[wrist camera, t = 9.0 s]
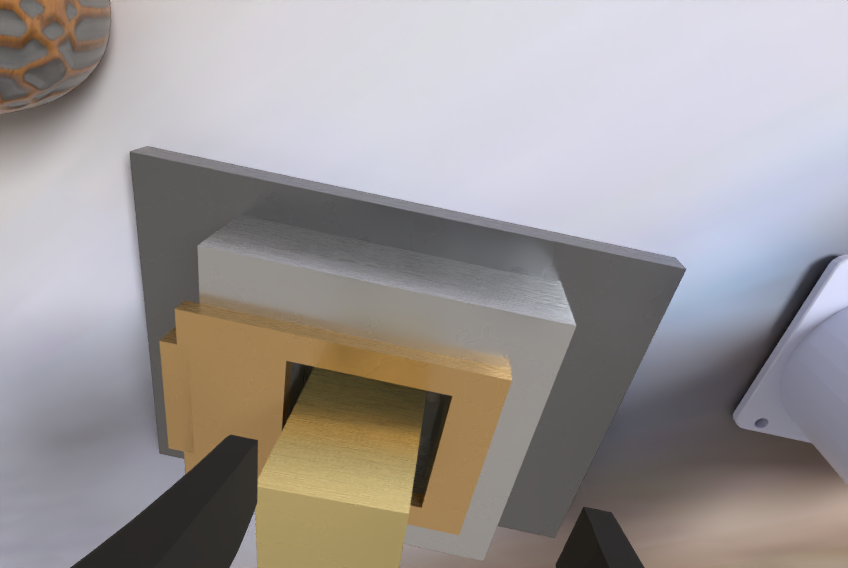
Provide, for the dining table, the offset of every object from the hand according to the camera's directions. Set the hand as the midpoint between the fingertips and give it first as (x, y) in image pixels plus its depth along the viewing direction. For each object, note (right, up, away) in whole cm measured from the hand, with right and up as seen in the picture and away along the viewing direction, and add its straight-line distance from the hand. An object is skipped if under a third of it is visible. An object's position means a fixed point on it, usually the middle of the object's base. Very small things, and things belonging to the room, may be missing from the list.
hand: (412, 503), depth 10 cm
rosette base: (-2, +1, +10) cm, 11 cm away
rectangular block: (-2, +1, +10) cm, 10 cm away
